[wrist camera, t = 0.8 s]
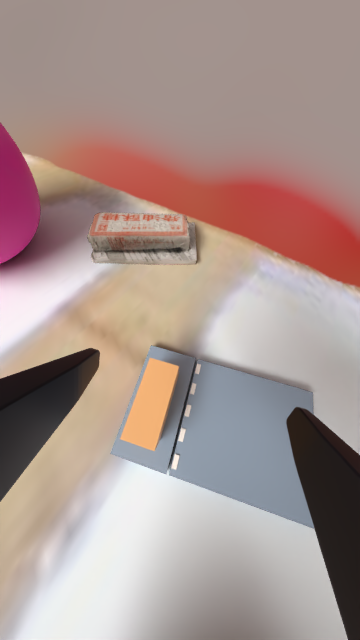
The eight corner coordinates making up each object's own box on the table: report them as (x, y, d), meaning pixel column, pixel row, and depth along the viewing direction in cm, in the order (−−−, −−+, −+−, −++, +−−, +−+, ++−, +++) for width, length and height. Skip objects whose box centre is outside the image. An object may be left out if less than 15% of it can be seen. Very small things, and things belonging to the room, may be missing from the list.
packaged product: (78, 243, 26) (93, 202, 31) (93, 266, 31) (103, 227, 35) (199, 244, 27) (197, 203, 31) (196, 267, 31) (194, 228, 35)
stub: (166, 470, 18) (162, 498, 13) (113, 451, 19) (88, 469, 14) (195, 359, 23) (200, 346, 18) (152, 347, 24) (144, 330, 19)
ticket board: (309, 523, 17) (317, 530, 16) (169, 471, 18) (169, 475, 17) (307, 392, 22) (313, 392, 21) (197, 360, 23) (198, 358, 22)
